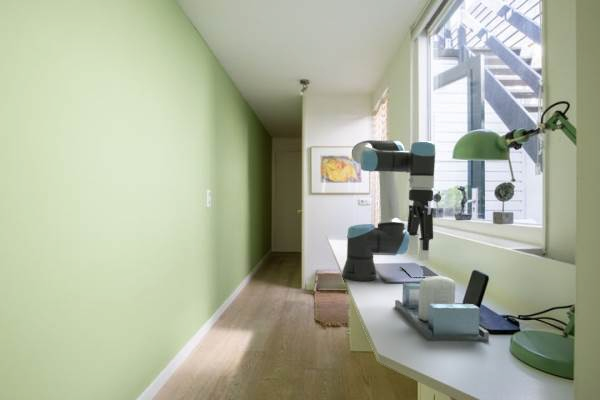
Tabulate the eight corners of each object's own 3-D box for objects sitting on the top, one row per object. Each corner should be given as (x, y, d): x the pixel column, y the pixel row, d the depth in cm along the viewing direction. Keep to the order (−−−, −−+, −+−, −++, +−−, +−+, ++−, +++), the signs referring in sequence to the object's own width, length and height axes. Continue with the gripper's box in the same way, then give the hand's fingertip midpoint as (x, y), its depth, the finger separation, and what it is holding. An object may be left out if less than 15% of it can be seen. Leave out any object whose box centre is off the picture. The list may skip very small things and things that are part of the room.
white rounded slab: (447, 315, 96) (448, 274, 96) (456, 320, 92) (458, 278, 92) (415, 316, 94) (417, 274, 94) (423, 322, 90) (425, 278, 90)
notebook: (440, 280, 143) (424, 269, 164) (440, 276, 143) (424, 265, 164) (411, 278, 144) (399, 268, 165) (411, 275, 144) (399, 265, 165)
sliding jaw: (402, 304, 104) (402, 283, 104) (438, 305, 105) (439, 283, 105) (405, 308, 101) (406, 286, 101) (442, 308, 102) (443, 286, 101)
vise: (395, 306, 105) (395, 282, 105) (442, 307, 106) (443, 283, 106) (427, 340, 81) (428, 309, 81) (488, 340, 82) (489, 309, 82)
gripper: (399, 188, 116) (396, 250, 117) (423, 189, 96) (420, 264, 97) (419, 188, 117) (416, 250, 118) (448, 189, 96) (444, 264, 97)
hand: (418, 256), depth 107 cm, fingers open, 8 cm apart
